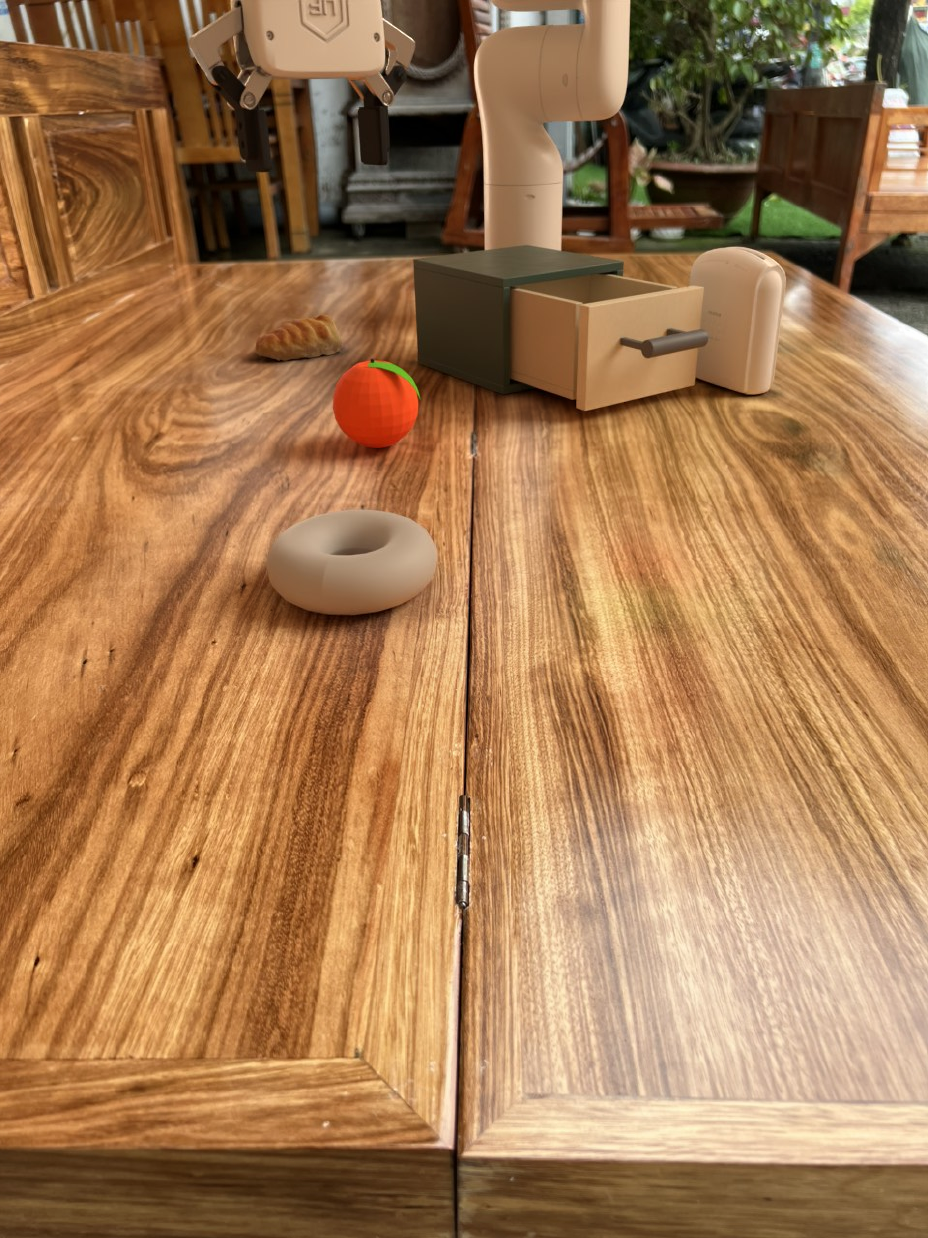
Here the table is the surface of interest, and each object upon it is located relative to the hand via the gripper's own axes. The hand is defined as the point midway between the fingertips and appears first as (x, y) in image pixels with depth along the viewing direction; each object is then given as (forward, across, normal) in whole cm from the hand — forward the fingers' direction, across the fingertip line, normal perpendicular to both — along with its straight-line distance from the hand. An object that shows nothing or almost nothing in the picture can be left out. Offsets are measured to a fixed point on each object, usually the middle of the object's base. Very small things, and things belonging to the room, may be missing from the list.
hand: (318, 167), depth 72 cm
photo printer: (+21, +37, -10) cm, 44 cm away
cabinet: (+20, +25, +9) cm, 34 cm away
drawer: (+20, +25, -5) cm, 32 cm away
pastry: (+21, +10, +29) cm, 37 cm away
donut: (+21, -13, -26) cm, 36 cm away
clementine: (+21, +1, -5) cm, 22 cm away
